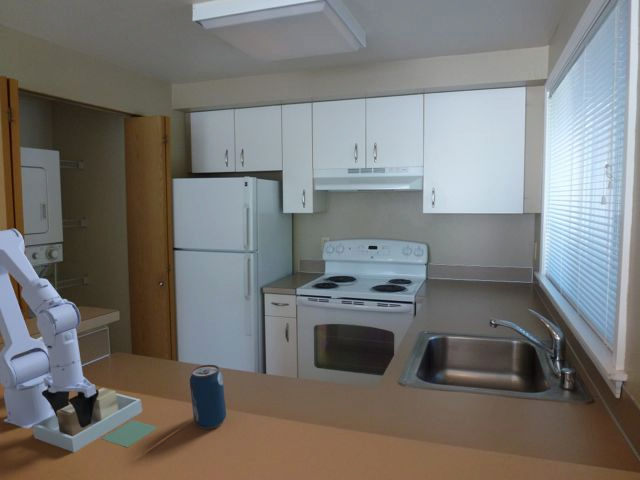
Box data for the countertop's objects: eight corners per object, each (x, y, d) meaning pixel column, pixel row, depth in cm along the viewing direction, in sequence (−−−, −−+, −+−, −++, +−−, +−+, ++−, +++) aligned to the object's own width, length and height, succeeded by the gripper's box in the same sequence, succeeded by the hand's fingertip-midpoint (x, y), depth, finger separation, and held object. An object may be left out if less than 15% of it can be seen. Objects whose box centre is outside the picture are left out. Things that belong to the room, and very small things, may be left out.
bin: (34, 440, 104) (32, 425, 103) (104, 403, 119) (102, 389, 118) (74, 454, 97) (71, 438, 97) (142, 413, 112) (140, 399, 112)
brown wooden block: (60, 435, 104) (56, 410, 103) (78, 424, 108) (75, 400, 107) (73, 439, 102) (69, 414, 101) (91, 429, 106) (88, 404, 105)
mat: (101, 441, 102) (101, 438, 102) (132, 422, 109) (132, 419, 109) (127, 449, 98) (127, 447, 98) (158, 429, 105) (158, 427, 105)
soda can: (232, 415, 109) (227, 364, 107) (216, 432, 102) (210, 378, 100) (205, 412, 111) (200, 362, 109) (188, 428, 105) (181, 375, 103)
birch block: (89, 419, 110) (85, 396, 109) (106, 410, 114) (102, 387, 113) (102, 423, 108) (98, 399, 107) (118, 413, 112) (115, 391, 111)
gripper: (25, 364, 102) (36, 424, 105) (69, 374, 95) (79, 438, 98) (57, 351, 108) (66, 408, 111) (100, 360, 101) (109, 421, 104)
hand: (74, 421), depth 104 cm, fingers open, 7 cm apart
